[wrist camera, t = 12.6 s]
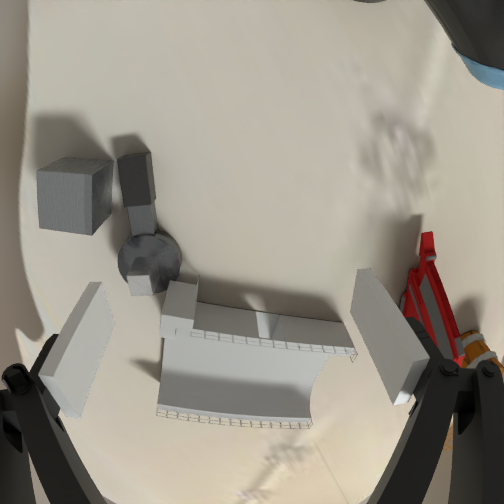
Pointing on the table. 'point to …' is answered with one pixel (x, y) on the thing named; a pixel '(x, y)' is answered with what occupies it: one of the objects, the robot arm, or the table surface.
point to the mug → (477, 350)
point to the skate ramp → (241, 360)
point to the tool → (432, 303)
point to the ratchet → (145, 231)
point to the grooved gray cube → (74, 195)
